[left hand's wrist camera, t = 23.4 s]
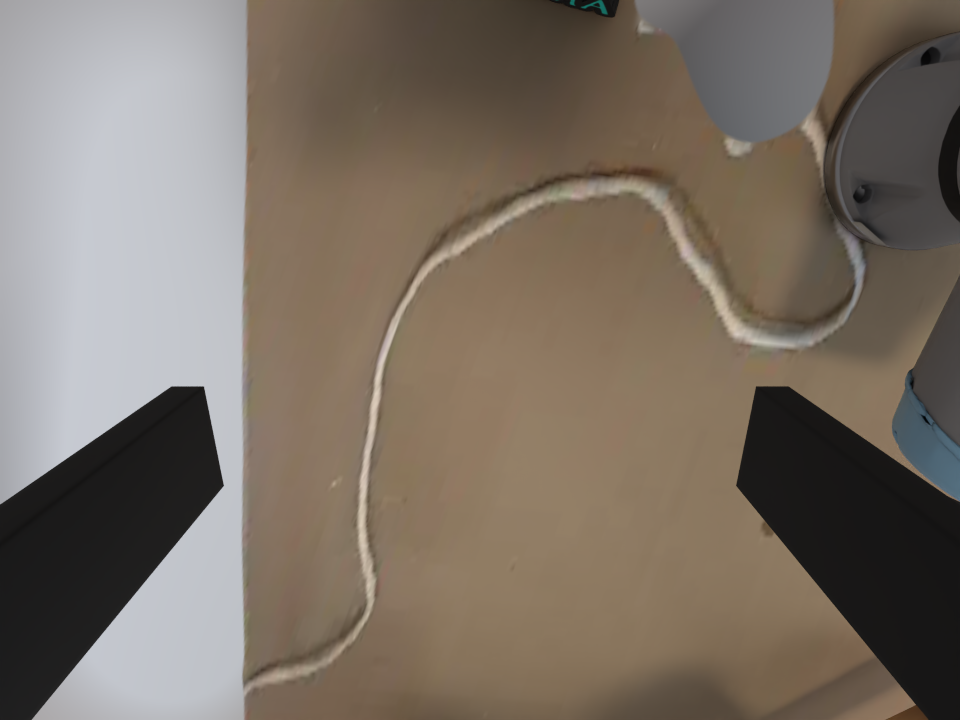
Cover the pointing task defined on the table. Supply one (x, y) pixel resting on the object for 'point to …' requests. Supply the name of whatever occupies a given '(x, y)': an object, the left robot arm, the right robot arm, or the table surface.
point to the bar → (910, 714)
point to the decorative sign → (593, 6)
